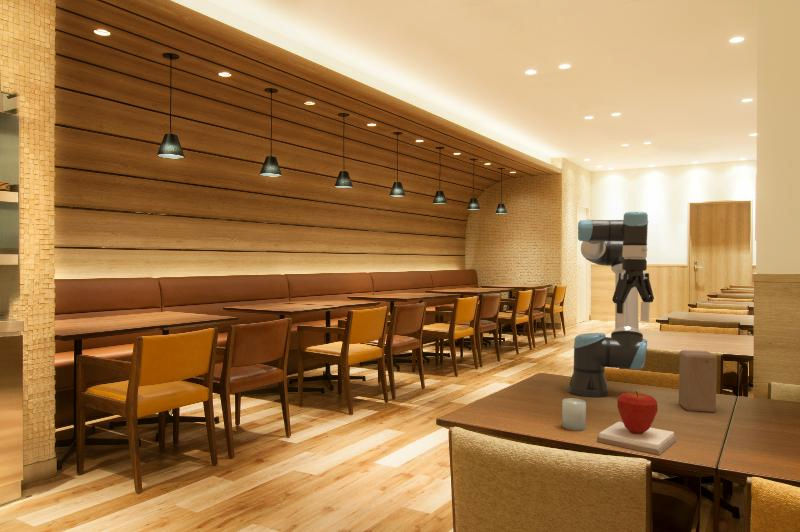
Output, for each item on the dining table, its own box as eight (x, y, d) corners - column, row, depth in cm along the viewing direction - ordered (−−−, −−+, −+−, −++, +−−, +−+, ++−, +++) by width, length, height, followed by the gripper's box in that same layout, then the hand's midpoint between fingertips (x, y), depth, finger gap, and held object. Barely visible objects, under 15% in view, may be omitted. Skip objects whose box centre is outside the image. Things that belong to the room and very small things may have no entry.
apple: (636, 440, 161) (637, 396, 161) (608, 429, 171) (609, 388, 171) (665, 435, 165) (666, 393, 165) (636, 425, 175) (637, 385, 175)
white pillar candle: (559, 427, 180) (559, 402, 180) (565, 421, 186) (566, 396, 186) (582, 432, 177) (582, 406, 176) (588, 425, 182) (588, 400, 182)
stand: (596, 441, 167) (596, 433, 167) (617, 428, 180) (617, 420, 180) (659, 455, 156) (659, 445, 156) (676, 440, 169) (676, 431, 169)
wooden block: (716, 413, 201) (718, 355, 201) (685, 411, 203) (686, 353, 203) (707, 405, 211) (708, 350, 211) (677, 404, 213) (679, 349, 213)
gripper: (622, 258, 183) (620, 325, 183) (665, 259, 197) (664, 321, 198) (601, 258, 189) (600, 323, 189) (645, 258, 204) (643, 319, 204)
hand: (633, 322), depth 194 cm, fingers open, 13 cm apart
